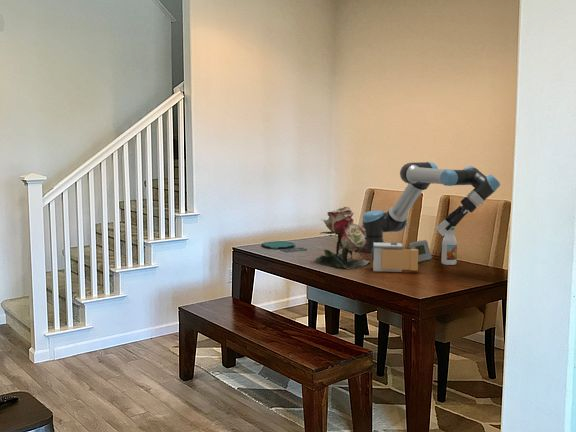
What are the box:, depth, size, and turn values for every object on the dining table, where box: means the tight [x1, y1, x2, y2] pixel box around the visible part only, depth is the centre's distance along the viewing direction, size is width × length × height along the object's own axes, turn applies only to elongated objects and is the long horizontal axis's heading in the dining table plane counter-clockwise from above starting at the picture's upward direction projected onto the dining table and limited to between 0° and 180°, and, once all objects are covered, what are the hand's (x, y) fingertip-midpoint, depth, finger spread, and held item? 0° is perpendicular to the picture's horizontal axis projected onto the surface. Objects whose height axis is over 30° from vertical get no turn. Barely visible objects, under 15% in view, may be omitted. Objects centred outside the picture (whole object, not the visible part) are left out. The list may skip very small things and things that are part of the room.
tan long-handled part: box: [382, 248, 419, 271], centre depth 297 cm, size 18×3×10 cm, turn 83°
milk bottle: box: [440, 226, 458, 266], centre depth 318 cm, size 8×8×20 cm
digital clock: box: [408, 239, 433, 263], centre depth 327 cm, size 16×9×11 cm, turn 122°
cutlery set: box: [260, 240, 308, 253], centre depth 366 cm, size 20×30×2 cm, turn 32°
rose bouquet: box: [314, 206, 371, 270], centre depth 319 cm, size 26×29×30 cm
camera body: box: [370, 241, 404, 273], centre depth 303 cm, size 15×11×14 cm
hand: (438, 232), depth 293 cm, fingers open, 13 cm apart
